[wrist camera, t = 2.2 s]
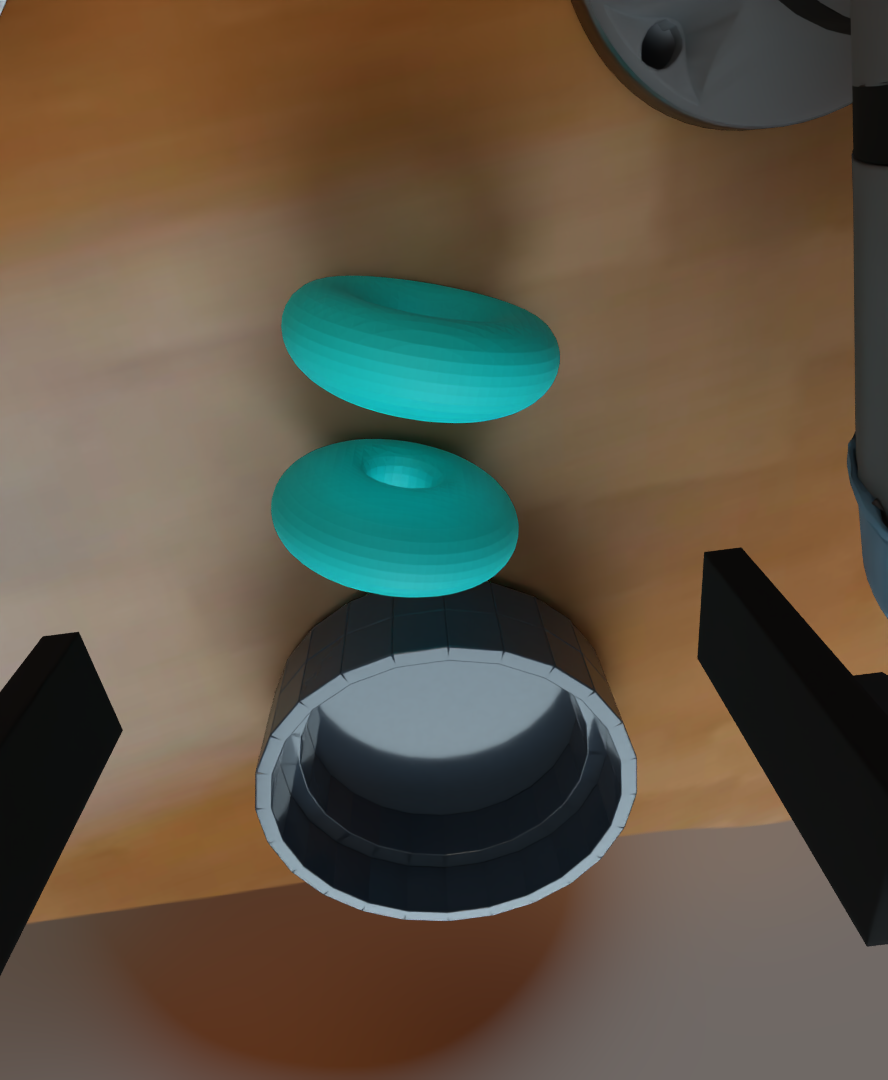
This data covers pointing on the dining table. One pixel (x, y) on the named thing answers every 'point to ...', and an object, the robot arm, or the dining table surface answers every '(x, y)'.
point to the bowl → (443, 755)
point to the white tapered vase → (2, 5)
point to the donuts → (399, 466)
